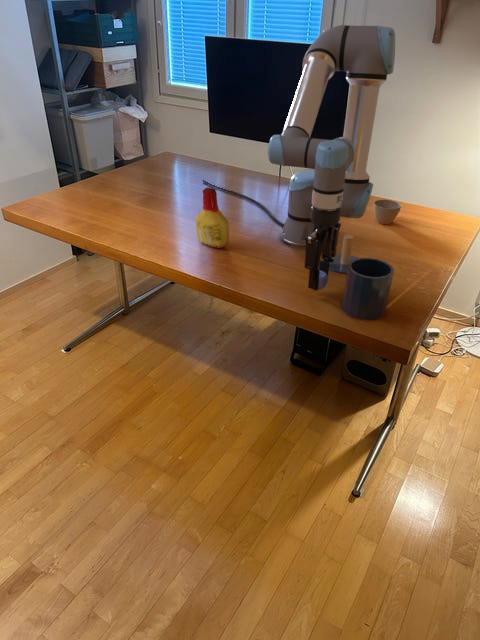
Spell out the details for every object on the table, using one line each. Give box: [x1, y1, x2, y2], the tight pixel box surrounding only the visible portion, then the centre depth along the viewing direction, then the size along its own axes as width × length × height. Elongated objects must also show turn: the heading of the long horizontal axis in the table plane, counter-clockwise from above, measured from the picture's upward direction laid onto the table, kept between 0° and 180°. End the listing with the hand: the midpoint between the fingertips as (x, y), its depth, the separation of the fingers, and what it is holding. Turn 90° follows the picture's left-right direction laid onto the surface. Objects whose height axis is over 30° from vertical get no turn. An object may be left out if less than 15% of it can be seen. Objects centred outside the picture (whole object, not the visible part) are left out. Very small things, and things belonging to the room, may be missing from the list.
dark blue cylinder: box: [341, 257, 395, 321], centre depth 129 cm, size 12×12×12 cm
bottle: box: [195, 187, 230, 249], centre depth 159 cm, size 12×6×20 cm, turn 60°
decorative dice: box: [317, 271, 329, 291], centre depth 134 cm, size 4×4×4 cm
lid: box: [329, 234, 359, 275], centre depth 150 cm, size 13×13×10 cm
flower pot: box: [373, 199, 402, 225], centre depth 181 cm, size 10×10×7 cm
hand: (317, 285), depth 135 cm, fingers closed on decorative dice, 4 cm apart
